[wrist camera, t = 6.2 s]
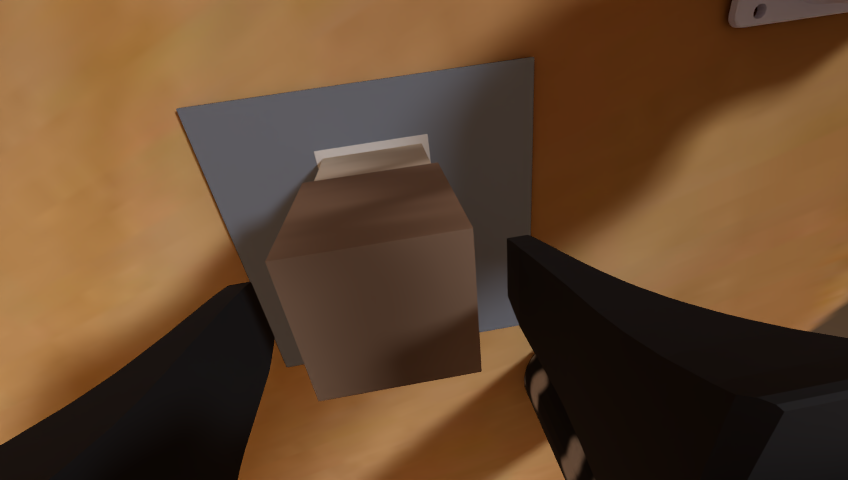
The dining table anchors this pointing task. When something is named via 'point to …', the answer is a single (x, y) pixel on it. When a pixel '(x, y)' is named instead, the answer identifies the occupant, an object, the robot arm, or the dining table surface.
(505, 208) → the mat
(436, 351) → the walnut block
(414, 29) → the dining table surface
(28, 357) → the dining table surface
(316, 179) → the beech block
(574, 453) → the spotted tube
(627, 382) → the robot arm
